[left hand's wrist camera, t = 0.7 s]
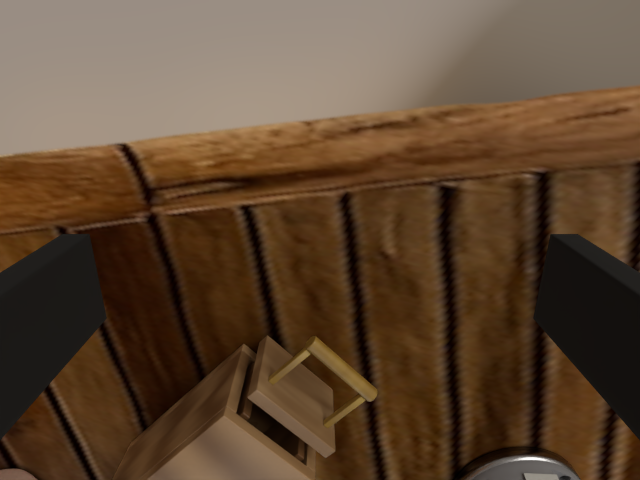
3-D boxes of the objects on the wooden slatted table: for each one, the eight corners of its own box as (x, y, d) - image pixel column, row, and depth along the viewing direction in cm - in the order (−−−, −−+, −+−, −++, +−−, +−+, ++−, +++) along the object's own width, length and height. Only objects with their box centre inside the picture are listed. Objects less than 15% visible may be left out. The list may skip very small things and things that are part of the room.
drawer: (310, 297, 40) (308, 346, 33) (375, 356, 43) (387, 413, 35) (156, 431, 46) (125, 497, 39) (221, 476, 48) (204, 546, 41)
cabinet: (243, 342, 43) (223, 415, 34) (316, 401, 46) (315, 483, 37) (130, 442, 48) (86, 529, 39) (202, 490, 51) (176, 582, 42)
